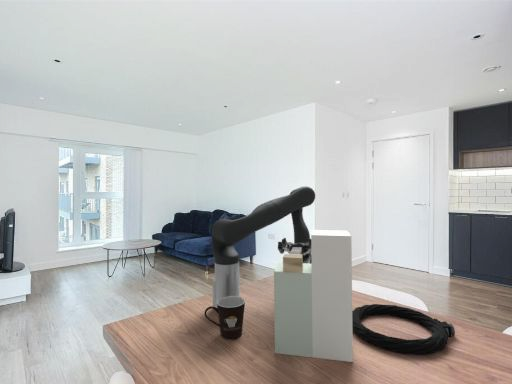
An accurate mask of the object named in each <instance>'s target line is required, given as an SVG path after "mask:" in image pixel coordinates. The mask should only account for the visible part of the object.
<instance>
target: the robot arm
mask: <svg viewBox="0 0 512 384" xmlns="http://www.w3.org/2000/svg"><path fill="white" fill-rule="evenodd" d="M315 200H316V192H315V190H314V189H313V188H312V187H310V186H306V185H305V186H300V187H298V188H296V189H293V190H292V191H291V192H290V193H289V194H287V195H284V196H280V197H277V198H274V199H271V200H267V201H265V202H264V203H261V204H260V205H258V206H256V207H255V208H254V209H253V210H252V211H251V212H250V213H249V214H248V215H245V216H243V217H240V218H237V219H227V218H221V219H218V220H216V221H215V222H214V223H213V225H212V229H211V248H212V249H211V250H212V255H213V258H214V281H213V283H212V306H213V307H216V308H217V301H218V300H219V299H221V298H224V297H230V296H236V297H241V296H240V290H241V288H240V256H239V255H240V254H239V253H238V251H236V248H235V245H236V244H238V243H240V242H241V241H243V240H245V239H246V238H248V237H249V236H251V235H252V234H254V233H256V232H257V231H260V230H262V229H264V228H266V227H268V226H271V225H273V224H274V223H277V222H278V221H281V220H282V219H284V218H285V217H288V216H289V215H291V220H292V228H293V239H294V240H293V242H291V241H289V242H288V241H287V237H283V239H281V241H277V250H278V252H279V254H283V255H284V254H285V253H286V252H287V254H290V252H291V250H292V248H293V247H302V255H303V263H308V264H312V255H311V234H310V231H309V228H308V226H307V224H306V222H305V220H304V215H303V212H304V211H303V210H304V208H306V207H308V206H311V205H312V204H313V203H314V202H315Z"/></svg>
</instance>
